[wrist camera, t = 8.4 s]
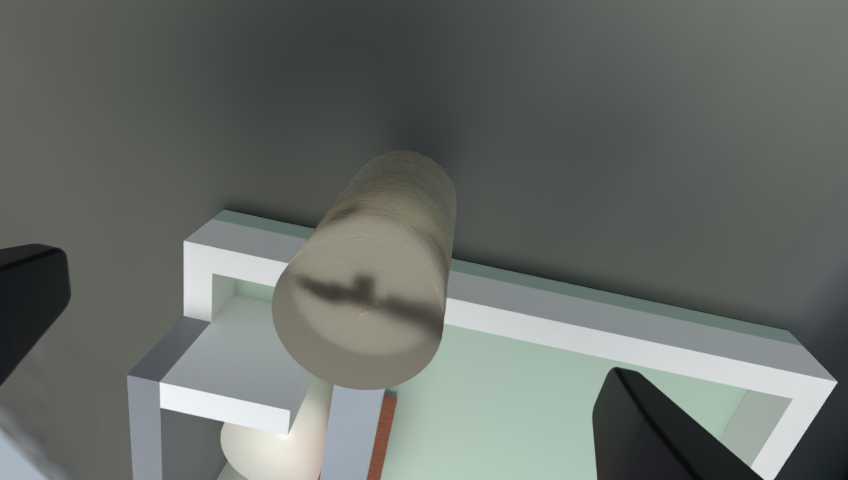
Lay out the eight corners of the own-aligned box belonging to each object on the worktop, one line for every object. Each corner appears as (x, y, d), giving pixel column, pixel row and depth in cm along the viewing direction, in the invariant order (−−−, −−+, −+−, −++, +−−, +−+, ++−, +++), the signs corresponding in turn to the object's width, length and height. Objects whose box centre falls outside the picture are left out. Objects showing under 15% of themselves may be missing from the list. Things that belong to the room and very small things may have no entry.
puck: (352, 377, 22) (338, 419, 19) (338, 454, 23) (324, 500, 21) (248, 354, 22) (222, 392, 19) (242, 432, 23) (218, 476, 21)
